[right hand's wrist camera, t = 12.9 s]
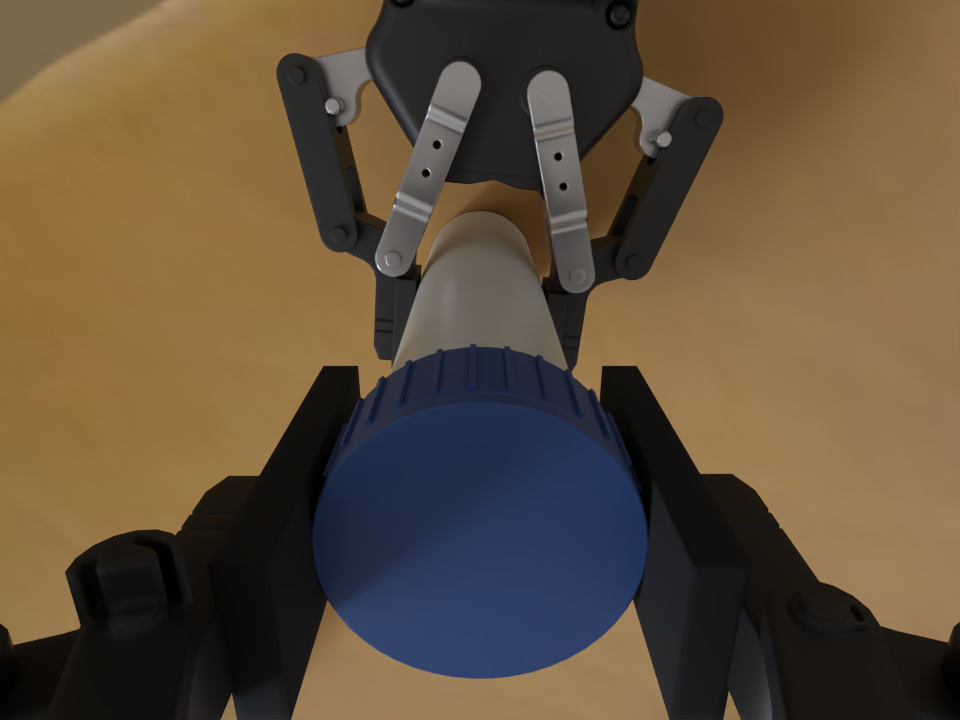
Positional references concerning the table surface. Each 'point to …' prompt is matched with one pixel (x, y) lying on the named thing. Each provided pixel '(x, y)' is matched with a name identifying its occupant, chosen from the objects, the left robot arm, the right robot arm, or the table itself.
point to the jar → (480, 294)
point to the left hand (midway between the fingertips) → (474, 373)
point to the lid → (480, 516)
